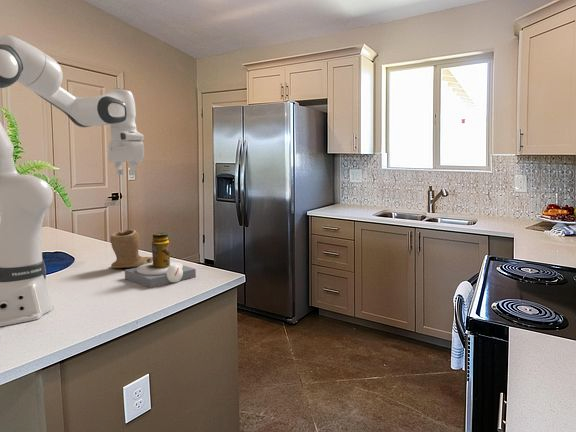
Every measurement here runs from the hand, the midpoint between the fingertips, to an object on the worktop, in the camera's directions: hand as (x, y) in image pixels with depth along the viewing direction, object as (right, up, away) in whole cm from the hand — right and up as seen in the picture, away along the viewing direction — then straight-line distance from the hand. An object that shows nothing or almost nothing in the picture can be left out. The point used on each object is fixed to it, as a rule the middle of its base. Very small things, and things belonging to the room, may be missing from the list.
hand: (126, 174), depth 158 cm
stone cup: (-4, -36, +16) cm, 39 cm away
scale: (+12, -37, 0) cm, 39 cm away
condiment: (+12, -33, 0) cm, 35 cm away
